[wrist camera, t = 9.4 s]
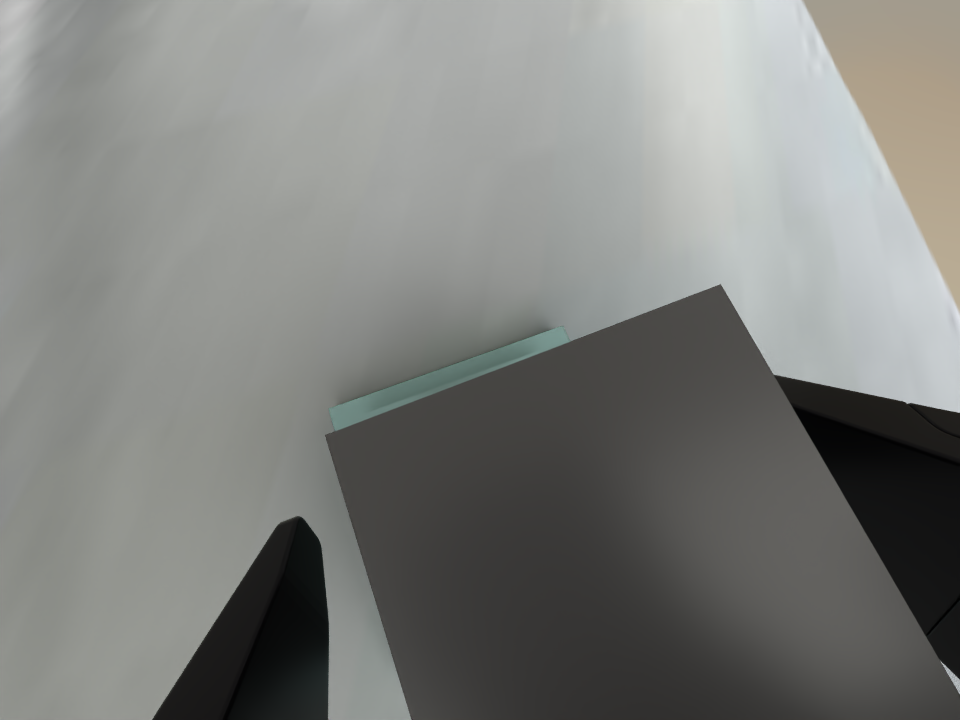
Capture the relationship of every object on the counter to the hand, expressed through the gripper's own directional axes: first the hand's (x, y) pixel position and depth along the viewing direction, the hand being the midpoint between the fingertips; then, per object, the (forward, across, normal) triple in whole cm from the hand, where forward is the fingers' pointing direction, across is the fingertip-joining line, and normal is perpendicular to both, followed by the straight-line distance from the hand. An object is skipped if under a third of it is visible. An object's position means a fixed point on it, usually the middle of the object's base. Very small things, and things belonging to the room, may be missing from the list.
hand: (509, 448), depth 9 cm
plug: (+5, 0, +7) cm, 8 cm away
